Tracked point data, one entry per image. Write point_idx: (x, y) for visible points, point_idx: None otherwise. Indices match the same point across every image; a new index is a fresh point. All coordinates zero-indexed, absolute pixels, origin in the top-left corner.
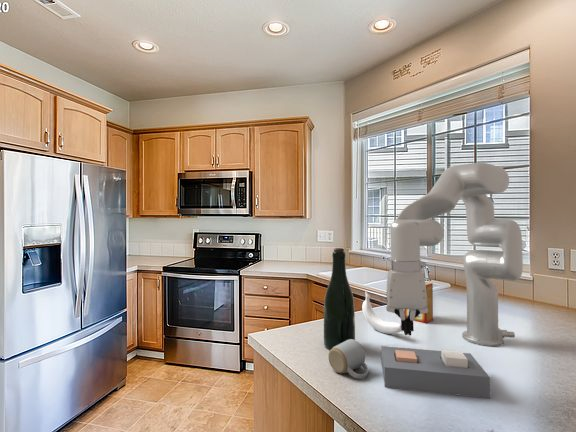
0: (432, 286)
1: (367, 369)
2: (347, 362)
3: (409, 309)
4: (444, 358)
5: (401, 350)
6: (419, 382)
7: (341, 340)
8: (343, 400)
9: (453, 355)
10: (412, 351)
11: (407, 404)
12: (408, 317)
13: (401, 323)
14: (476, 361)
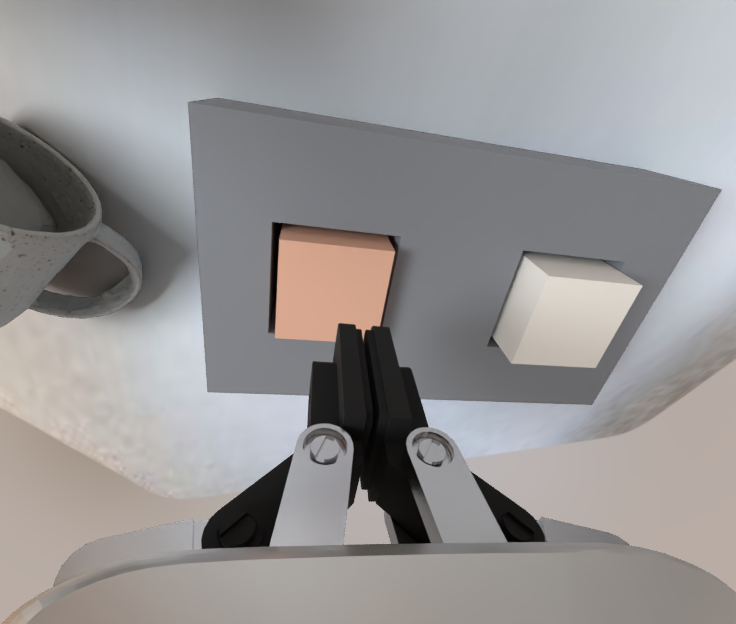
0: None
1: (134, 274)
2: (2, 325)
3: (432, 539)
4: (514, 325)
5: (318, 245)
6: None
7: None
8: (83, 426)
9: (563, 337)
10: (384, 253)
11: (290, 415)
12: (380, 497)
13: (308, 423)
14: (660, 288)
